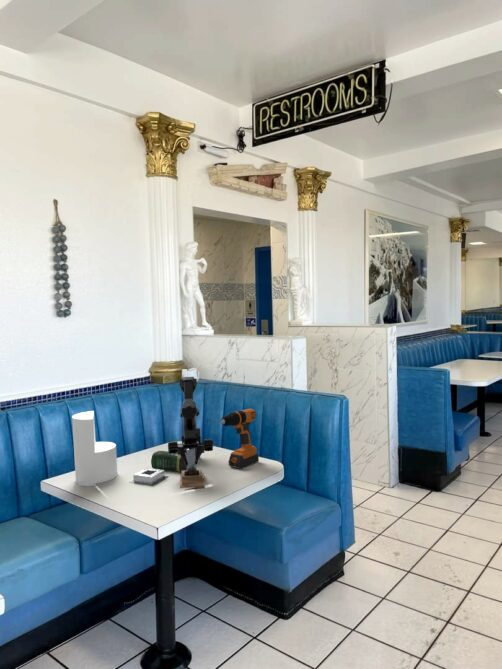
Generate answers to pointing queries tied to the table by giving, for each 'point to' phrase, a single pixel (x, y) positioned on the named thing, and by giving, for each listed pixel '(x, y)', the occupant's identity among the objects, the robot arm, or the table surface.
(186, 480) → the wooden tray
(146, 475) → the socket stand
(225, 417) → the power drill
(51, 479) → the table surface
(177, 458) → the coffee jar
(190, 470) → the metal rod
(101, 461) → the stepped white column
